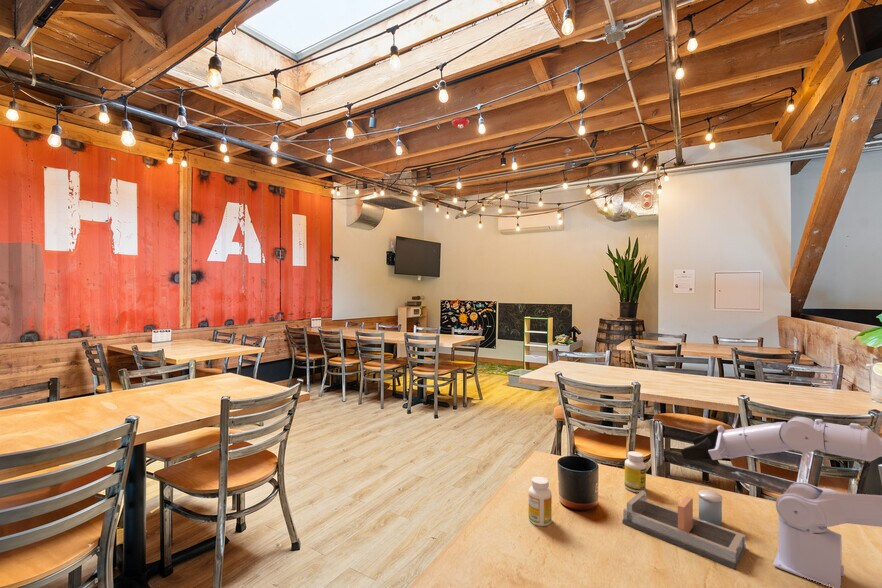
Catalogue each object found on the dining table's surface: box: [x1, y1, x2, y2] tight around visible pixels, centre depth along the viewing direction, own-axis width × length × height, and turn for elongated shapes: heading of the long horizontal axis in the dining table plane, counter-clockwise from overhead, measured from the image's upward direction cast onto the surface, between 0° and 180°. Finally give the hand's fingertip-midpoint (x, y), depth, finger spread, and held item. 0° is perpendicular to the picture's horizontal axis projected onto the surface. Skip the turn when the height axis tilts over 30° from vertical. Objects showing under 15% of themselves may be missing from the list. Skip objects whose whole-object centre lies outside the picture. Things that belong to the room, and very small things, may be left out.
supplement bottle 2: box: [623, 450, 647, 493], centre depth 113 cm, size 5×5×10 cm
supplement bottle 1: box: [528, 476, 553, 527], centre depth 96 cm, size 5×5×10 cm
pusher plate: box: [677, 495, 694, 533], centre depth 90 cm, size 1×6×7 cm, turn 133°
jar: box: [697, 489, 723, 527], centre depth 96 cm, size 5×5×6 cm
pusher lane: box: [621, 491, 747, 570], centre depth 91 cm, size 22×10×5 cm, turn 43°
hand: (688, 449), depth 96 cm, fingers open, 7 cm apart
